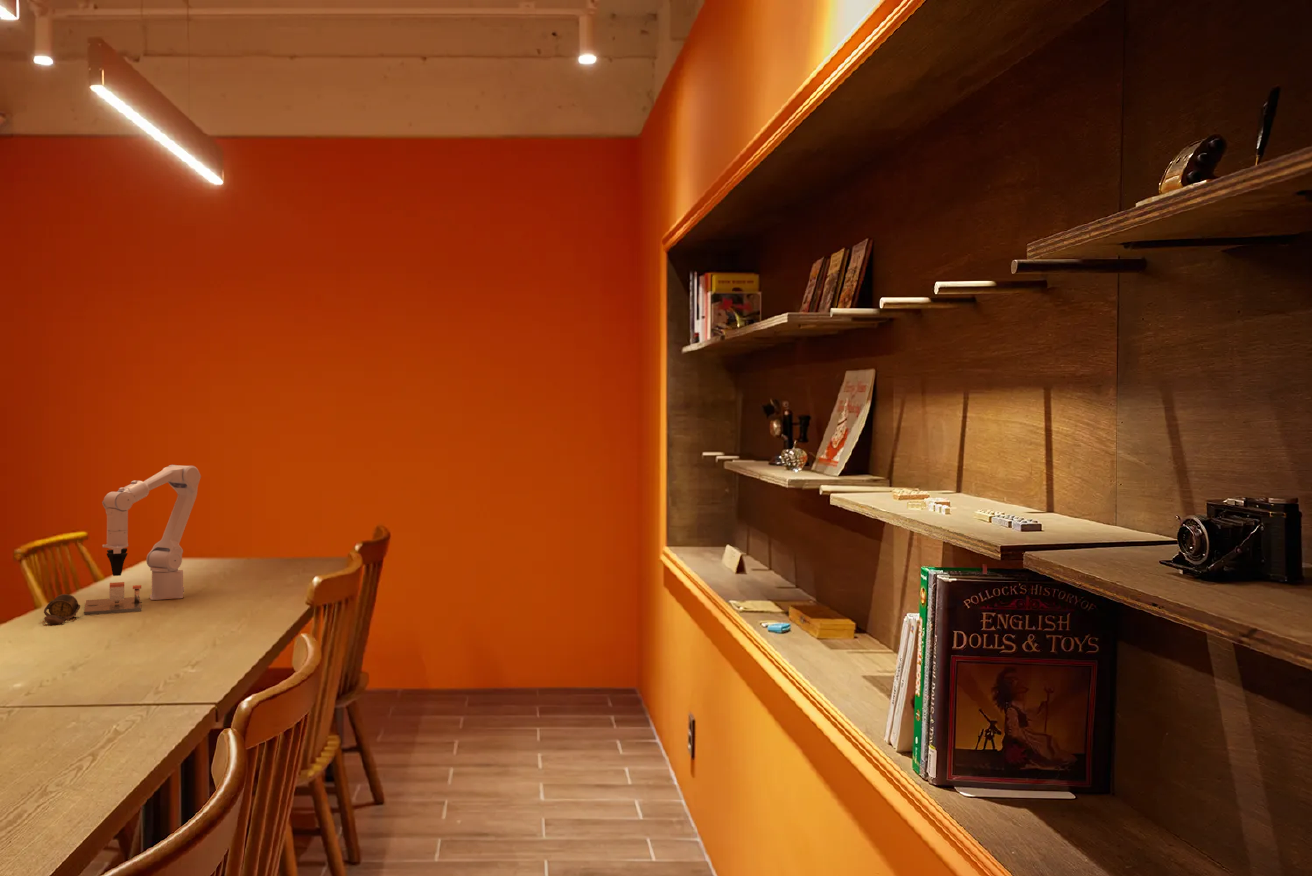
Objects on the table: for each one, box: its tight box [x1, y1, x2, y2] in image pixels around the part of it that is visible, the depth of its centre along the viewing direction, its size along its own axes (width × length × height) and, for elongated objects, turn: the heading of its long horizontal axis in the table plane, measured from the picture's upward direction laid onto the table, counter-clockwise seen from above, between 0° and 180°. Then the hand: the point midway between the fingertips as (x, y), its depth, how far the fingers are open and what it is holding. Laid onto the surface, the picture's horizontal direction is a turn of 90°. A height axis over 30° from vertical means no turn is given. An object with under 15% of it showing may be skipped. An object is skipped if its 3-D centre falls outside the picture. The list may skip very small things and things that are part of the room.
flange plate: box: [83, 584, 143, 616], centre depth 301 cm, size 15×20×6 cm
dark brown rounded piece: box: [43, 593, 81, 626], centre depth 281 cm, size 7×13×10 cm
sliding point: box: [109, 581, 125, 603], centre depth 301 cm, size 4×4×6 cm
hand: (117, 573), depth 301 cm, fingers open, 7 cm apart
